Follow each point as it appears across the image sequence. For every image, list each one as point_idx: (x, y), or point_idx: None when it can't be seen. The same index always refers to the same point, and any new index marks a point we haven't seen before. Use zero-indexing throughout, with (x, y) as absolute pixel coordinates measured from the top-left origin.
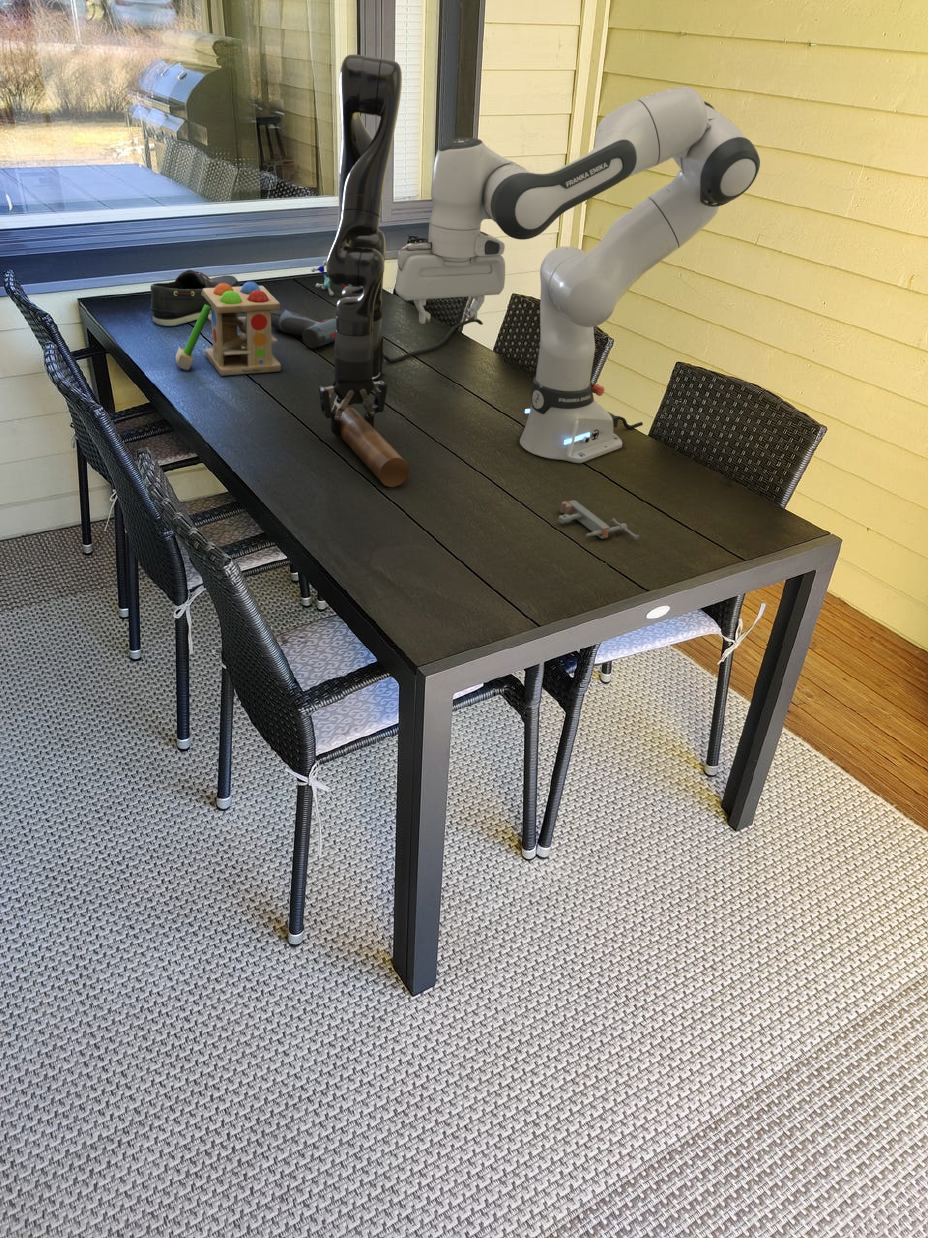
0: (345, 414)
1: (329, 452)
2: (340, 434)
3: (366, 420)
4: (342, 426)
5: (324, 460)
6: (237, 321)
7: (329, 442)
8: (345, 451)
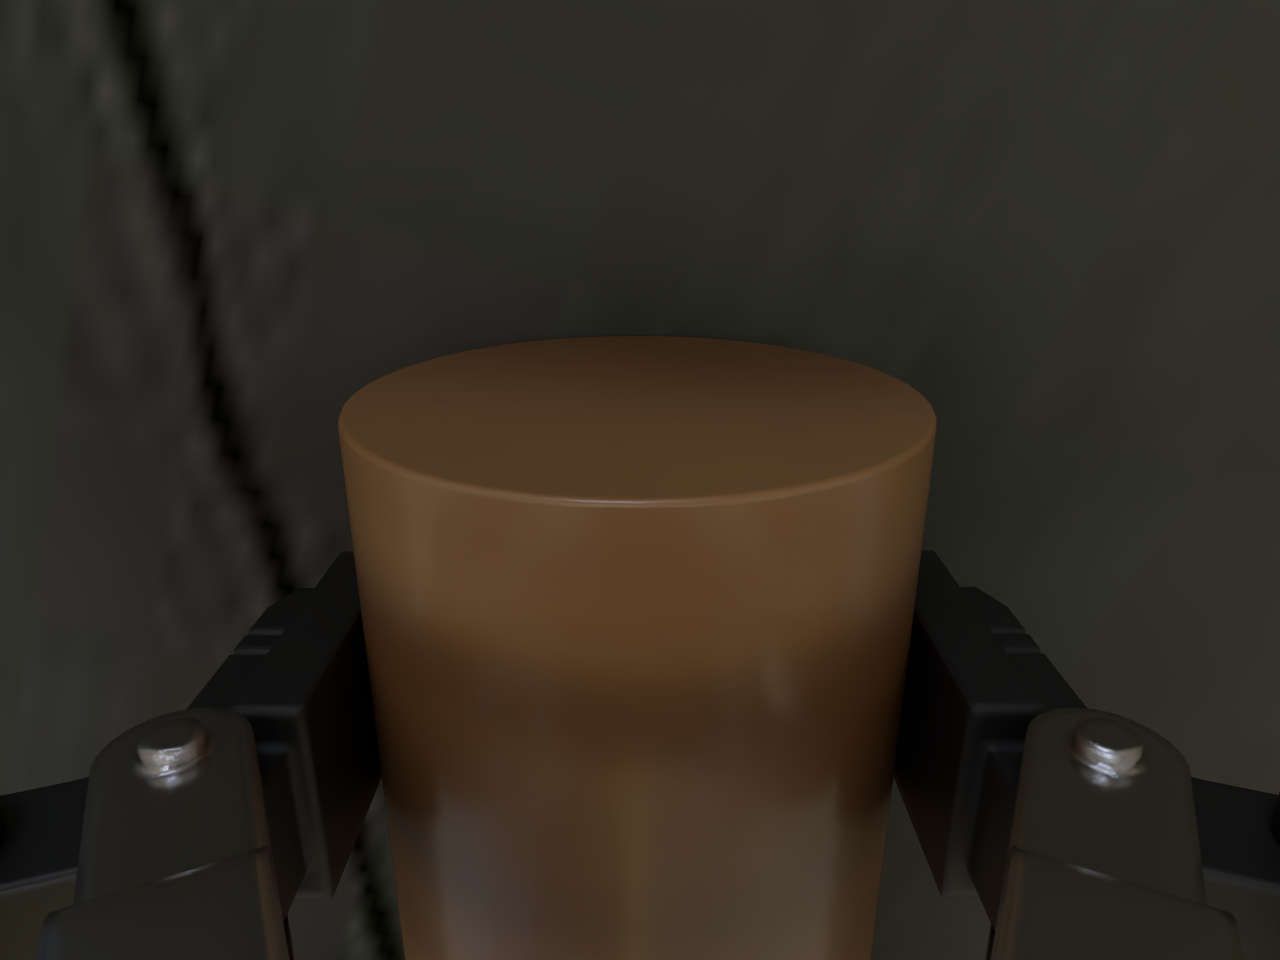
0: (486, 778)
1: None
2: None
3: (917, 739)
4: (391, 845)
5: None
6: None
7: (325, 505)
8: None
